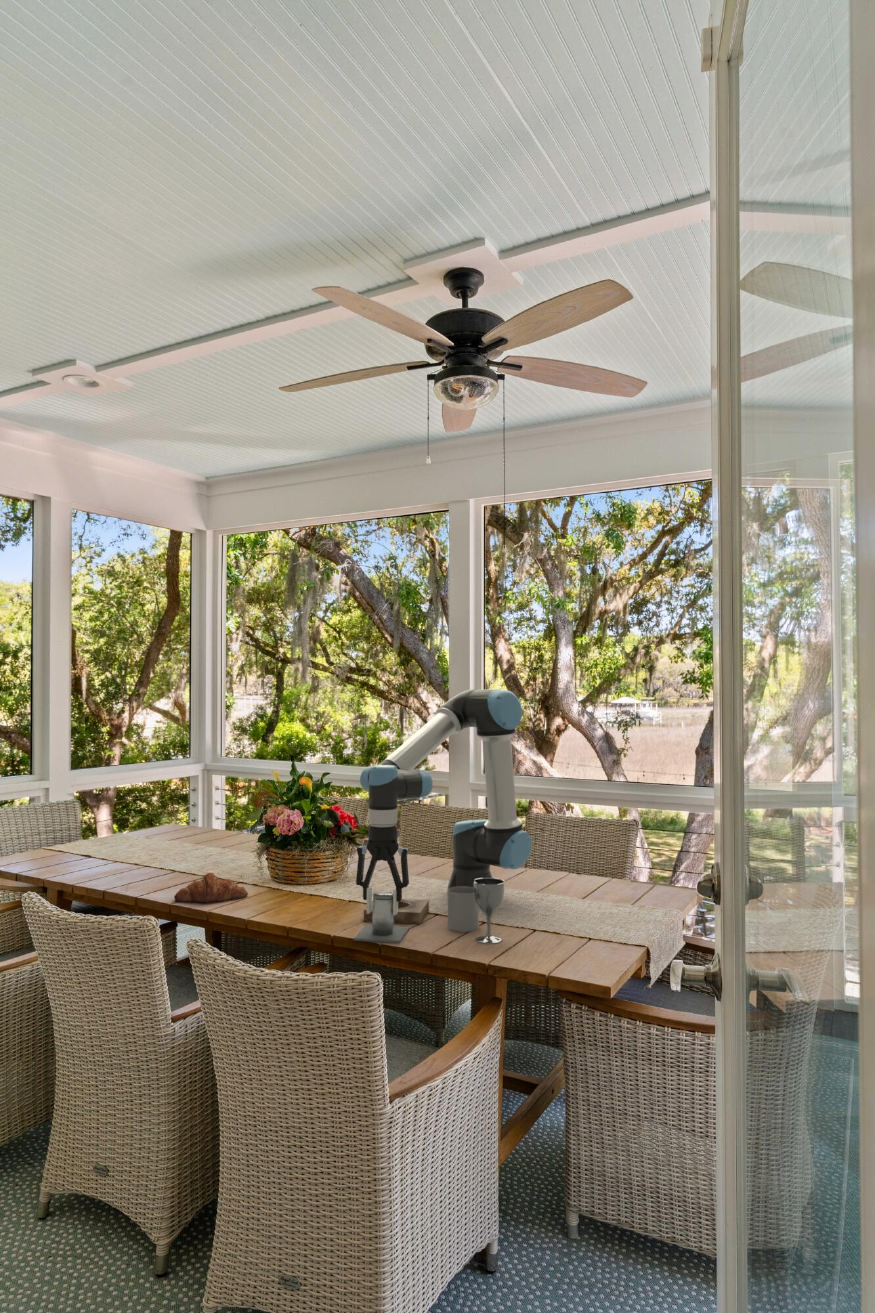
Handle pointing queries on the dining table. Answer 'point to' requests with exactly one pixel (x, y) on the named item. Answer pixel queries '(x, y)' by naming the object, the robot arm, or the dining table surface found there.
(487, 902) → the wine glass
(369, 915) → the block
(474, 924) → the cup
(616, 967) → the dining table surface
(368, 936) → the mat
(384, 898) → the plug
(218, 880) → the pastry
